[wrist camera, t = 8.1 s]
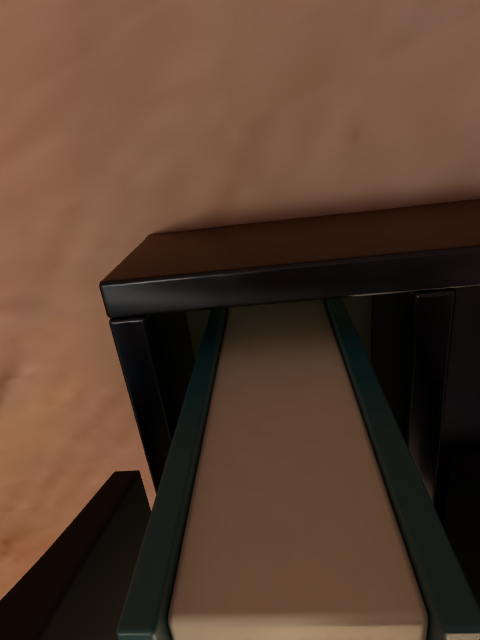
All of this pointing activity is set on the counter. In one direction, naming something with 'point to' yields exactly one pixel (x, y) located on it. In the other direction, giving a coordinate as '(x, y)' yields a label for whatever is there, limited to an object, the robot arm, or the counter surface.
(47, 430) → the counter surface
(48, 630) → the robot arm
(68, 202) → the counter surface
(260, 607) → the teal book
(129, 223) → the counter surface
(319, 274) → the caddy
